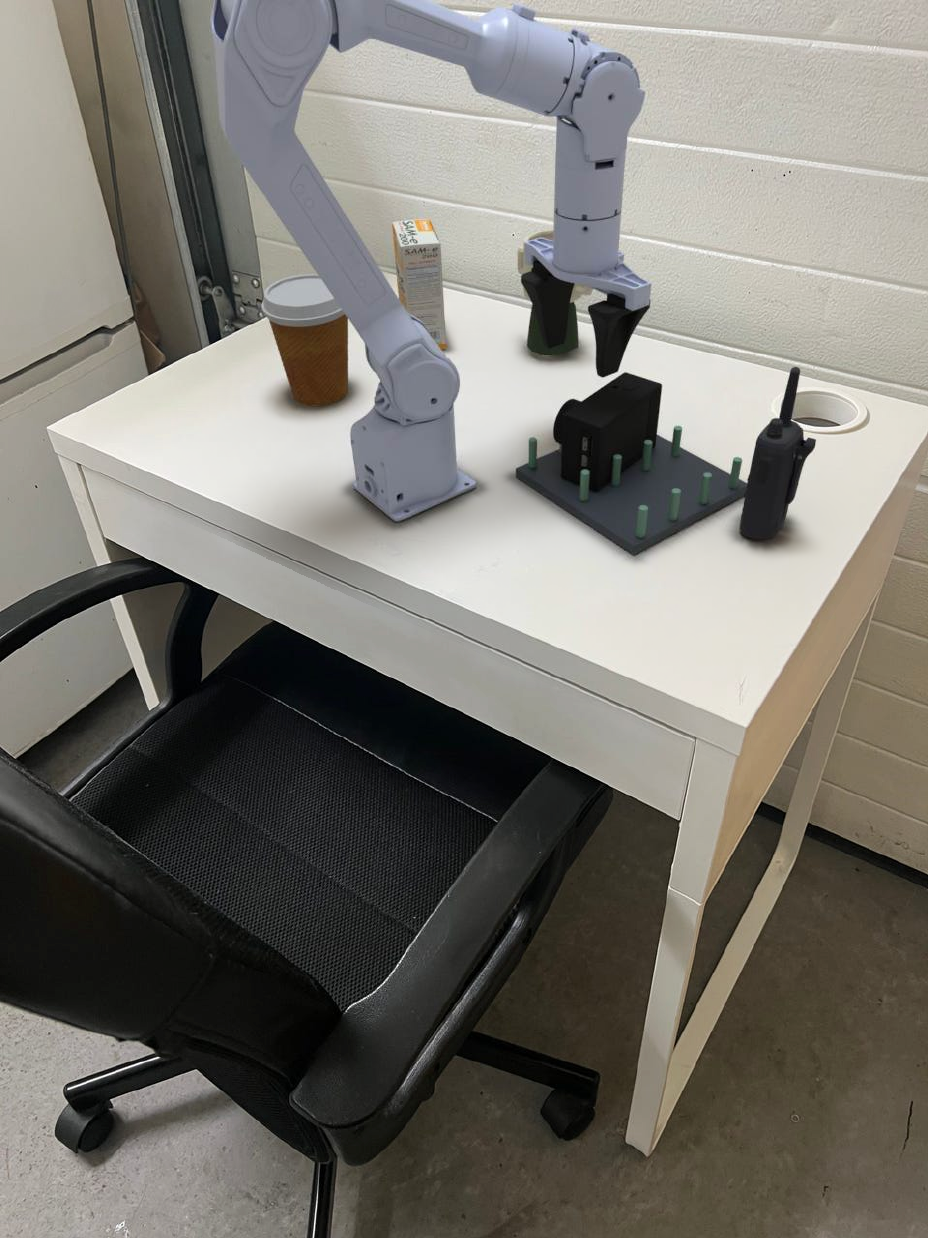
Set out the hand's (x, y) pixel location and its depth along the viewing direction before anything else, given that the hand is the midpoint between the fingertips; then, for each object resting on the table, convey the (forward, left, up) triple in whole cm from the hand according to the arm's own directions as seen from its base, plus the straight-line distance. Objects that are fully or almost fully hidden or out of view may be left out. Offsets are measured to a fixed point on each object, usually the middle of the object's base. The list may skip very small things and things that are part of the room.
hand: (580, 358), depth 88 cm
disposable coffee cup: (-14, +28, -10) cm, 33 cm away
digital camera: (0, -4, -9) cm, 10 cm away
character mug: (+13, +19, -10) cm, 25 cm away
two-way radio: (+4, -21, -10) cm, 24 cm away
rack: (0, -8, -10) cm, 13 cm away
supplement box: (+3, +32, -10) cm, 34 cm away
